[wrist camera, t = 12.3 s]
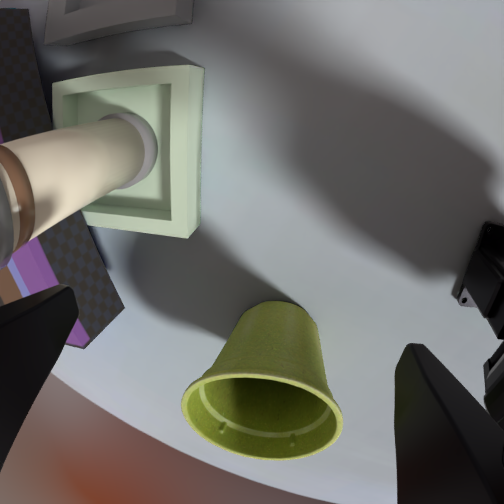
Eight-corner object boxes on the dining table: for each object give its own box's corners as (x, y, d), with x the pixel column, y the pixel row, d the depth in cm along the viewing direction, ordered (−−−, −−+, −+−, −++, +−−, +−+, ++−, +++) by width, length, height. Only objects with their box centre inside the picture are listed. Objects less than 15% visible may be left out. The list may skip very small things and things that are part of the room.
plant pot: (354, 289, 21) (366, 388, 14) (325, 379, 26) (320, 468, 18) (219, 269, 22) (173, 355, 15) (218, 362, 27) (187, 444, 19)
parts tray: (204, 68, 17) (189, 64, 14) (200, 223, 21) (187, 238, 19) (74, 81, 18) (52, 82, 16) (81, 210, 22) (63, 222, 20)
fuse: (141, 99, 17) (-45, 128, 6) (169, 169, 19) (8, 270, 7) (86, 131, 19) (-81, 189, 7) (111, 194, 20) (-37, 294, 9)
